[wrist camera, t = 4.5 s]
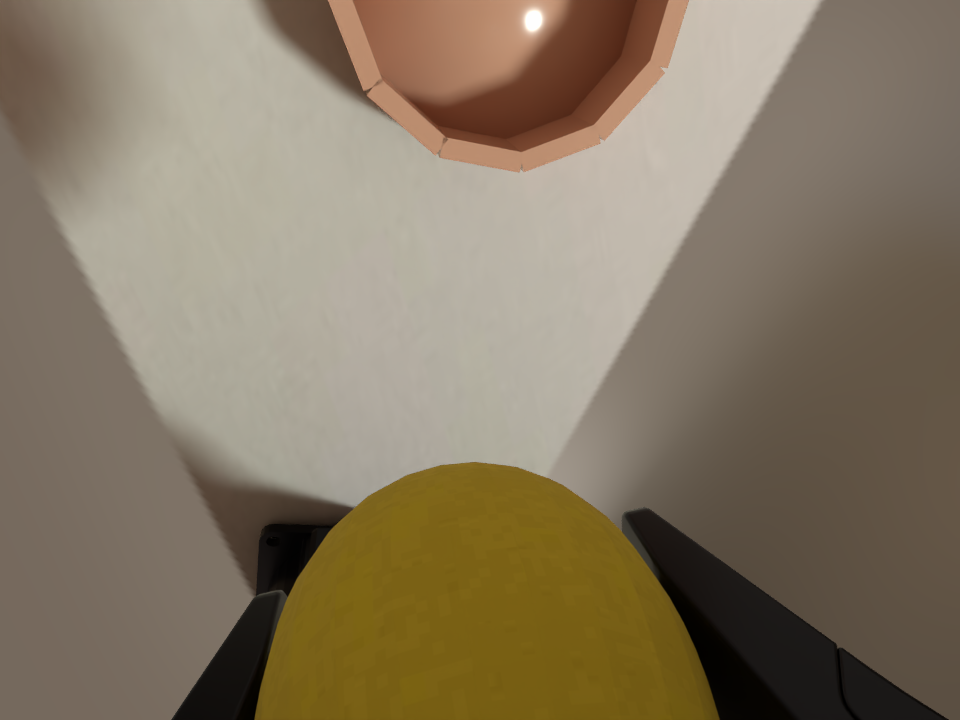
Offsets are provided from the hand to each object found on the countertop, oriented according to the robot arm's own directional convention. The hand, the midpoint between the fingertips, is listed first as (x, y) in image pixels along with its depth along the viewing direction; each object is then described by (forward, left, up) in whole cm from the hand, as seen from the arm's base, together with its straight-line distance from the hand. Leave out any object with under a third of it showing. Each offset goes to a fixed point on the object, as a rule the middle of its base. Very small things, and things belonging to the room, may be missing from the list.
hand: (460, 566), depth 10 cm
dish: (+9, -1, -11) cm, 14 cm away
